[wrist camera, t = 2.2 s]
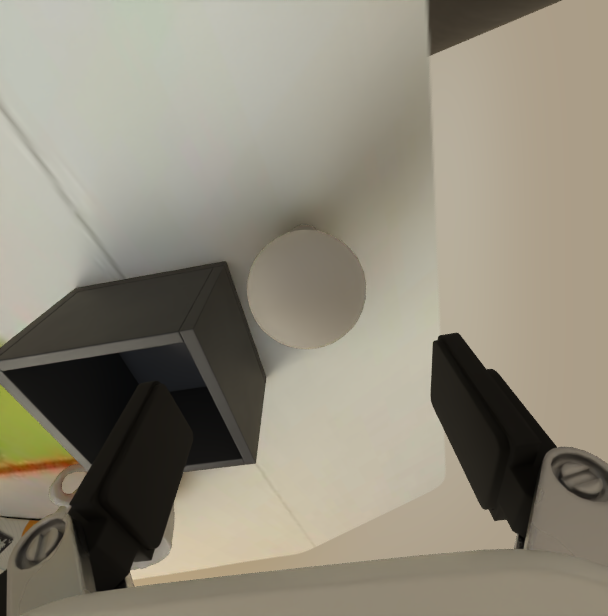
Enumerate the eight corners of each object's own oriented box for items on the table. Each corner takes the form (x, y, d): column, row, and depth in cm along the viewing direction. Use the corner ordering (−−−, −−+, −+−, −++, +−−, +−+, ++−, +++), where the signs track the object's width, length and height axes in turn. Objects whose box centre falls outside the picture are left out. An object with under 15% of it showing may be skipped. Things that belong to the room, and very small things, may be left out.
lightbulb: (359, 249, 23) (400, 339, 14) (292, 288, 25) (289, 391, 16) (317, 176, 21) (333, 229, 11) (245, 225, 22) (208, 307, 13)
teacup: (210, 485, 41) (193, 559, 34) (135, 506, 43) (104, 579, 37) (131, 417, 33) (88, 495, 27) (46, 448, 36) (-13, 525, 29)
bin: (226, 261, 24) (193, 328, 16) (266, 377, 30) (255, 463, 23) (74, 288, 25) (-21, 363, 17) (145, 395, 32) (98, 482, 24)
